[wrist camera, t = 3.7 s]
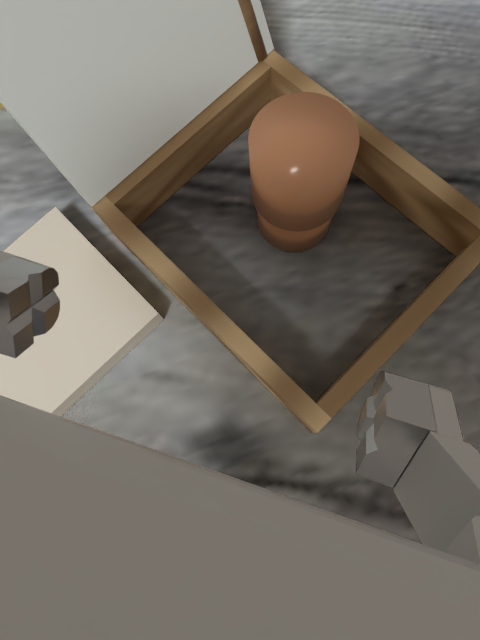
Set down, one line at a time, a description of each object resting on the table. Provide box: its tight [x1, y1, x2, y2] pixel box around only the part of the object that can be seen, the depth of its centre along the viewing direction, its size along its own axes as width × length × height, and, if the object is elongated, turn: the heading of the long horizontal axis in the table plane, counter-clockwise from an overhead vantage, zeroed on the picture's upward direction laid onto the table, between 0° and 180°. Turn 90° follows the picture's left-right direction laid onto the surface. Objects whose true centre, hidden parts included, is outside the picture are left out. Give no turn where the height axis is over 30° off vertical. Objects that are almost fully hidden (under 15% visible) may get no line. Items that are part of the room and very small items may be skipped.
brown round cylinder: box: [248, 92, 359, 252], centre depth 24 cm, size 5×5×8 cm
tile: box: [0, 207, 164, 416], centre depth 27 cm, size 10×10×2 cm
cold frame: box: [91, 0, 480, 433], centre depth 23 cm, size 21×15×10 cm
